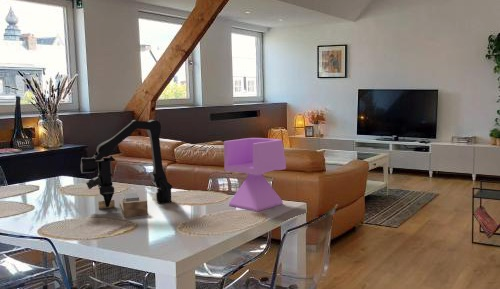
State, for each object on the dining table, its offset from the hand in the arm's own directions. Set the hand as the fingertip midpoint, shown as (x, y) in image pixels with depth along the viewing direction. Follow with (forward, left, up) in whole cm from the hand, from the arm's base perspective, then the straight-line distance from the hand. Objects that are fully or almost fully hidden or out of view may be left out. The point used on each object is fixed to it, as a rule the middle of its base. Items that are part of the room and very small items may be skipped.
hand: (106, 204), depth 228 cm
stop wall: (-11, +18, -2) cm, 21 cm away
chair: (-65, +22, -2) cm, 69 cm away
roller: (0, -2, 0) cm, 2 cm away
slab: (-11, +2, +2) cm, 11 cm away
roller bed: (-11, +7, -2) cm, 13 cm away
